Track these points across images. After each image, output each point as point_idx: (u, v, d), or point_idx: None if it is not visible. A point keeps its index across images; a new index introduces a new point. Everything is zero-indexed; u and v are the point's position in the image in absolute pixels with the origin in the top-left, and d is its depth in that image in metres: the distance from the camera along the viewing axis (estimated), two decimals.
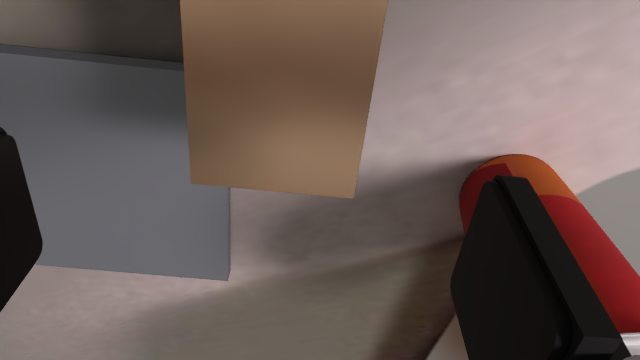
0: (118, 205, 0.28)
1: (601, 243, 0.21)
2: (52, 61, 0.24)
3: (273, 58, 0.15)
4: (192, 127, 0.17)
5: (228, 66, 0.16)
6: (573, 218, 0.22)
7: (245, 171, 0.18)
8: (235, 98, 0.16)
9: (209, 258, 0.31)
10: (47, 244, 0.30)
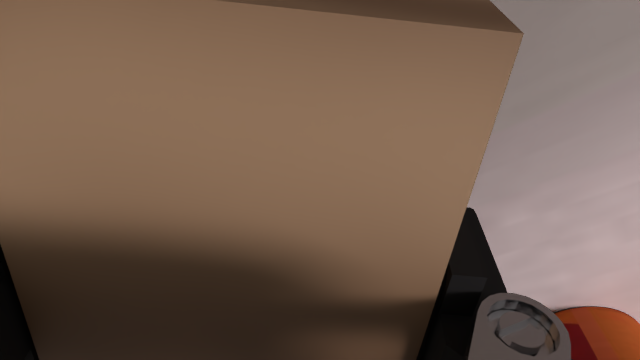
0: None
1: None
2: None
3: (211, 330, 0.08)
4: None
5: (122, 341, 0.08)
6: None
7: None
8: None
9: None
10: None
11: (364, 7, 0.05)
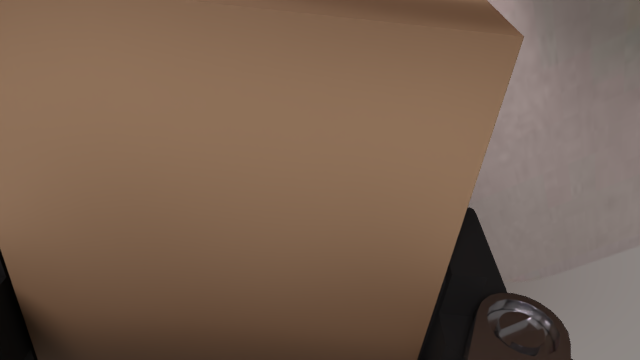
0: None
1: None
2: None
3: (211, 332, 0.08)
4: None
5: (121, 344, 0.08)
6: None
7: None
8: None
9: None
10: None
11: (364, 10, 0.05)
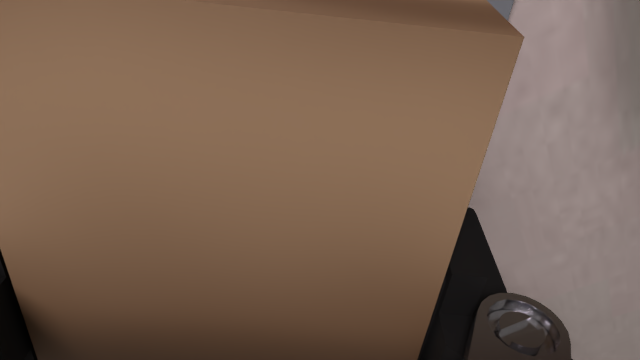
0: None
1: None
2: None
3: (211, 332, 0.08)
4: None
5: (122, 343, 0.08)
6: None
7: None
8: None
9: None
10: None
11: (364, 10, 0.05)
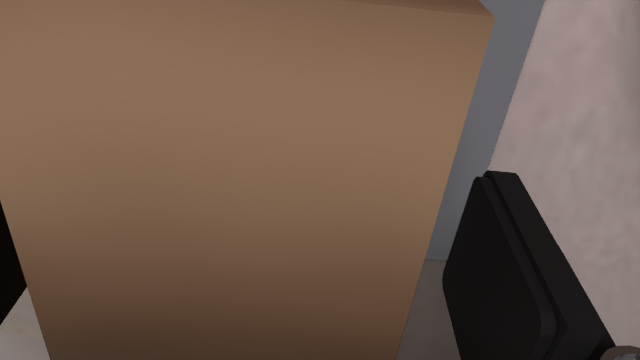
0: None
1: None
2: None
3: (207, 306, 0.08)
4: None
5: (122, 316, 0.08)
6: None
7: None
8: (142, 359, 0.09)
9: None
10: None
11: None
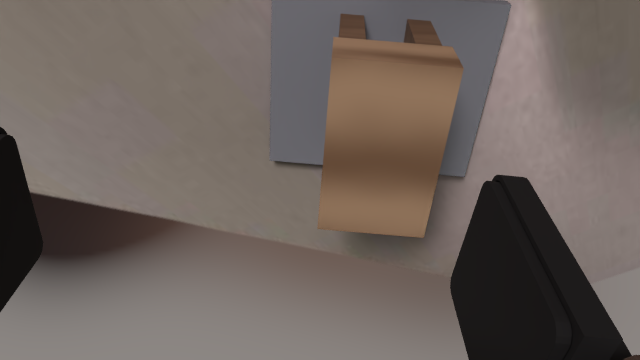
0: None
1: None
2: (272, 112, 0.34)
3: (378, 155, 0.25)
4: (323, 195, 0.27)
5: (350, 160, 0.26)
6: None
7: (354, 221, 0.28)
8: (352, 178, 0.26)
9: (474, 21, 0.30)
10: None
11: (427, 62, 0.23)
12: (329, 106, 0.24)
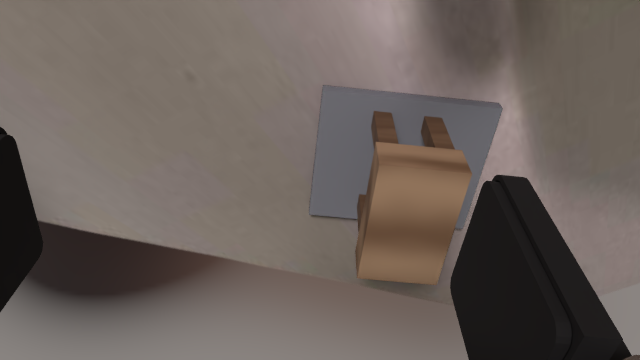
0: None
1: None
2: (314, 179, 0.43)
3: (407, 228, 0.35)
4: (364, 254, 0.36)
5: (386, 231, 0.35)
6: None
7: (385, 273, 0.37)
8: (387, 243, 0.35)
9: (475, 118, 0.39)
10: None
11: (446, 168, 0.32)
12: (374, 195, 0.33)
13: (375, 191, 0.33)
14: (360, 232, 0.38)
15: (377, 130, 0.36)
